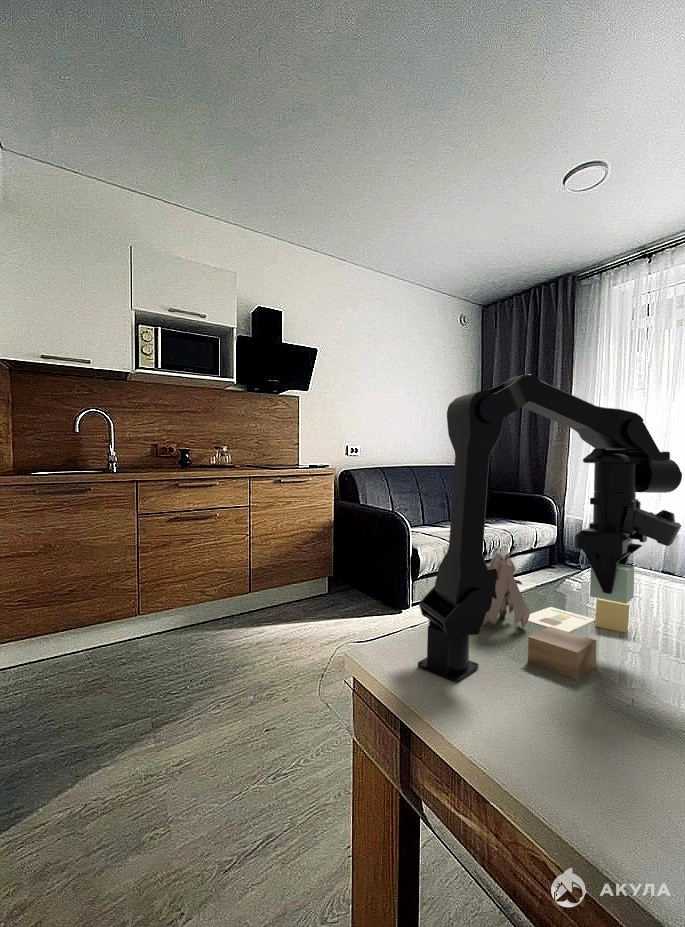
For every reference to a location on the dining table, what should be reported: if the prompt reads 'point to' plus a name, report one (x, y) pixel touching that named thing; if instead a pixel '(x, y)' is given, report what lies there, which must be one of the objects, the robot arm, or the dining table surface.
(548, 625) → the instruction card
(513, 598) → the toy
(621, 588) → the pale green cube
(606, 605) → the brick
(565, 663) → the base block
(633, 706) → the dining table surface
